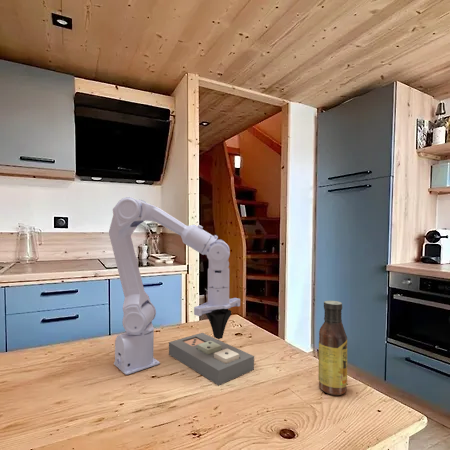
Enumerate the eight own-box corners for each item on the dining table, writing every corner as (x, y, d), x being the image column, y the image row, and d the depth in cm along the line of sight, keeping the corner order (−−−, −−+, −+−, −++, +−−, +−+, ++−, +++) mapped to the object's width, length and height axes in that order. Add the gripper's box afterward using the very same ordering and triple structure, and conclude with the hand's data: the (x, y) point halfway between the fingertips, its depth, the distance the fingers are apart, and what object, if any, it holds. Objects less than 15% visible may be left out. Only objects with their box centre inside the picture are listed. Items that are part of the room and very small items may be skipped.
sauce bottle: (349, 398, 66) (350, 307, 66) (319, 395, 68) (320, 305, 68) (344, 383, 73) (345, 300, 73) (316, 380, 74) (318, 298, 74)
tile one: (225, 366, 75) (225, 358, 75) (213, 360, 78) (213, 352, 78) (239, 361, 78) (239, 353, 78) (227, 355, 81) (227, 347, 81)
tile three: (192, 353, 85) (192, 346, 85) (183, 348, 89) (183, 341, 89) (205, 348, 88) (205, 342, 88) (195, 344, 92) (195, 337, 92)
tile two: (207, 356, 80) (208, 349, 80) (197, 351, 83) (197, 344, 83) (221, 352, 83) (221, 345, 83) (210, 346, 87) (210, 340, 86)
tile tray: (218, 385, 71) (218, 370, 71) (168, 354, 88) (168, 342, 88) (253, 369, 79) (254, 356, 79) (202, 343, 95) (202, 332, 95)
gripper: (206, 292, 73) (206, 349, 73) (248, 284, 83) (248, 335, 83) (189, 288, 78) (188, 341, 78) (230, 281, 88) (230, 328, 88)
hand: (218, 337), depth 81 cm, fingers closed
